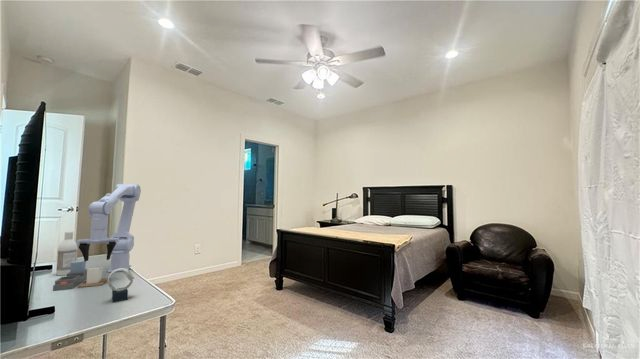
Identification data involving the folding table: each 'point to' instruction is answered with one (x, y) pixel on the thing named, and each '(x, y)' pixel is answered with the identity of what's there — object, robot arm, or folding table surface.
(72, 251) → the bath foam
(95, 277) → the block
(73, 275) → the power strip
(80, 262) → the blue charger
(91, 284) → the walnut board
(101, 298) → the folding table surface
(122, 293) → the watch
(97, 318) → the folding table surface
